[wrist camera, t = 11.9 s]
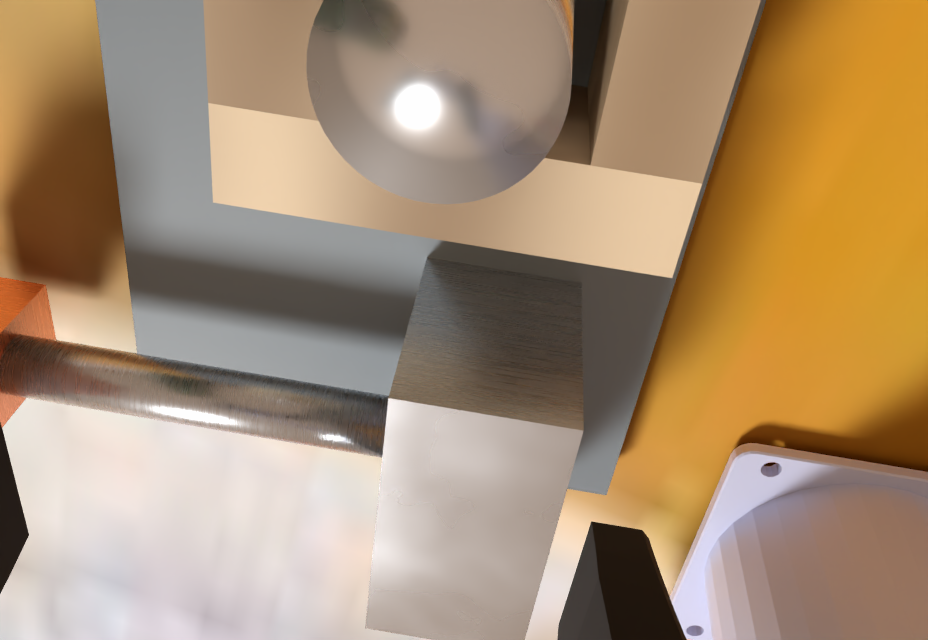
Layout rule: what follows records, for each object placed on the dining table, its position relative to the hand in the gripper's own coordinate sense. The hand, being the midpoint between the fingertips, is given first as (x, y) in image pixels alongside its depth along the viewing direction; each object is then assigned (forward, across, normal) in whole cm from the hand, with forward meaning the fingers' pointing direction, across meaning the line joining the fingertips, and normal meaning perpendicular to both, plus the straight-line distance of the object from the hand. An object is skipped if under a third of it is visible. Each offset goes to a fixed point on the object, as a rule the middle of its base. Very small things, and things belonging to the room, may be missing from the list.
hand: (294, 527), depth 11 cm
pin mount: (+9, -2, +5) cm, 11 cm away
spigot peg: (+9, -1, -5) cm, 11 cm away
